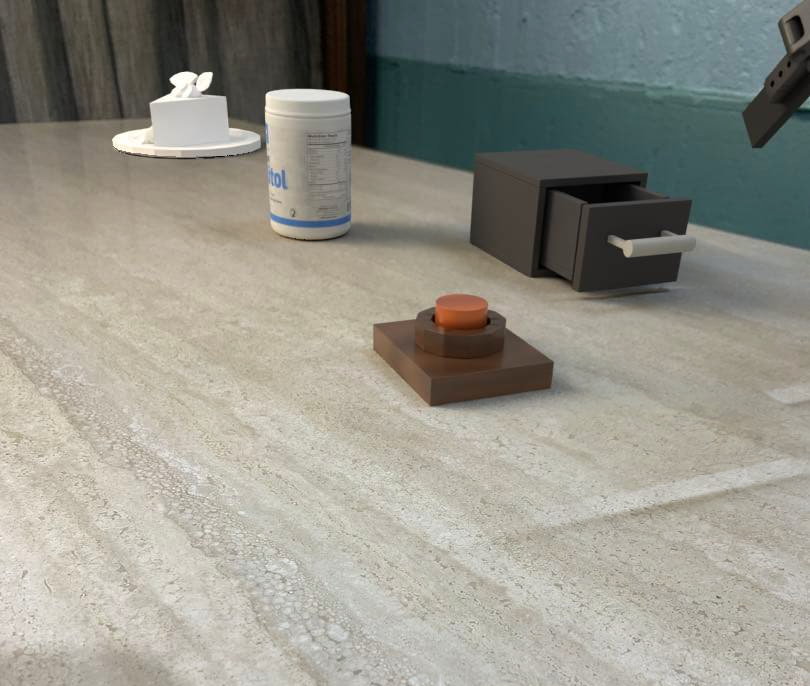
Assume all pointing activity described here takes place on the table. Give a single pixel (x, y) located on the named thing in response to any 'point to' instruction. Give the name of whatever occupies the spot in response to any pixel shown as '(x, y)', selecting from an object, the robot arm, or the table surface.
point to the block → (461, 359)
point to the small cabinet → (530, 198)
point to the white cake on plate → (189, 124)
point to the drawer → (614, 235)
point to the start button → (461, 312)
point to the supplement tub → (309, 162)
